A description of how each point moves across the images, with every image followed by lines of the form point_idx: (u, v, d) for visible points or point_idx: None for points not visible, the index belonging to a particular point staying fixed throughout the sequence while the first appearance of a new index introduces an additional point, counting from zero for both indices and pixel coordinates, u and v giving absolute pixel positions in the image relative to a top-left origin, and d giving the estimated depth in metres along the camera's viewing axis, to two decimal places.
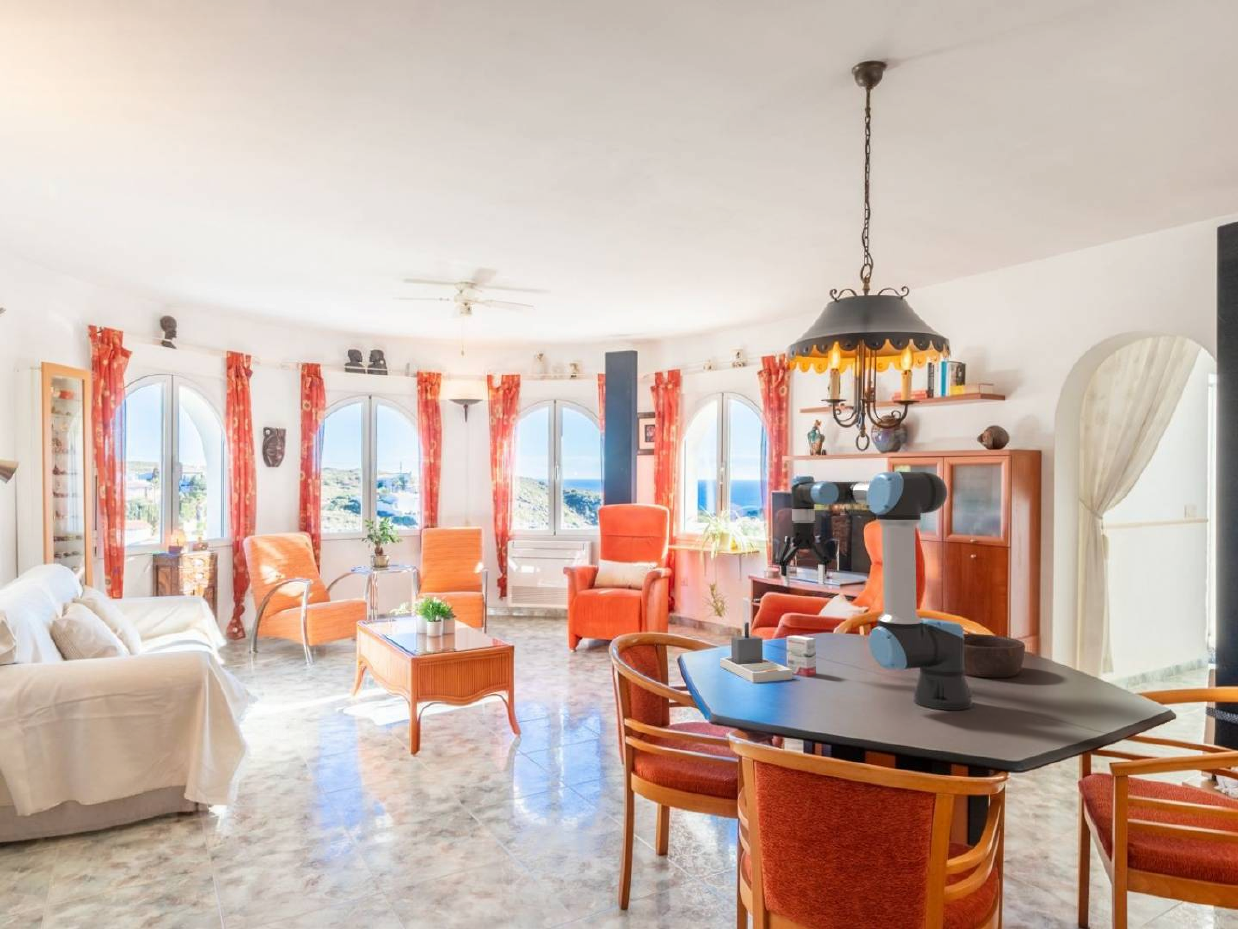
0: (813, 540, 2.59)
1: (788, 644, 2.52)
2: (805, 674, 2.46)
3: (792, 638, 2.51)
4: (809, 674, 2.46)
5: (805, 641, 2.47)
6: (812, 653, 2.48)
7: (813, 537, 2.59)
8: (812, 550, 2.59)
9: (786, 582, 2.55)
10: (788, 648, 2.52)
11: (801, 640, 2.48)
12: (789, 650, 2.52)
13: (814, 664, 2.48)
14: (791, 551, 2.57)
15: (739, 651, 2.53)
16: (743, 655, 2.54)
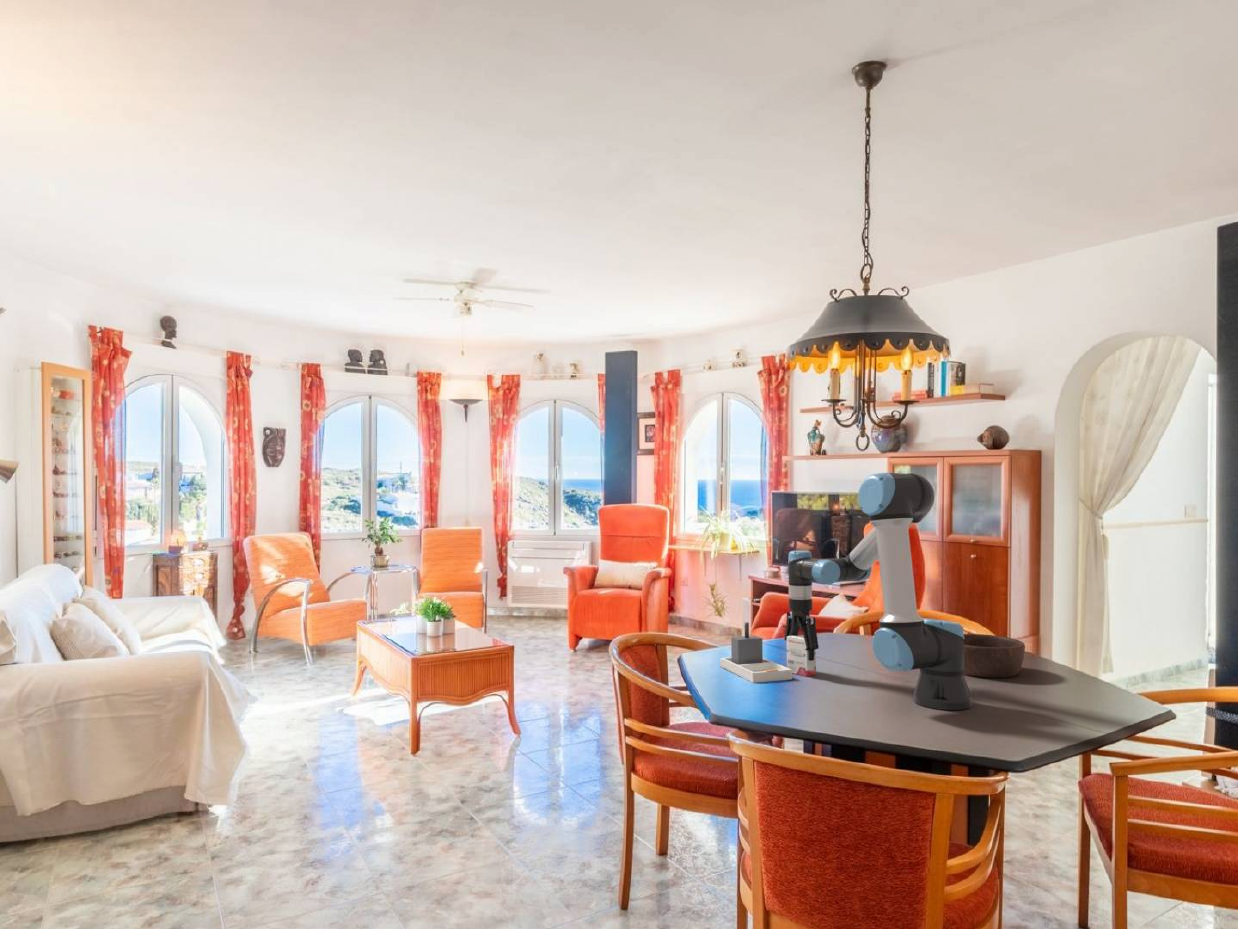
0: (802, 618, 2.48)
1: (788, 644, 2.52)
2: (805, 674, 2.46)
3: (792, 638, 2.51)
4: (809, 674, 2.46)
5: None
6: None
7: (803, 615, 2.48)
8: None
9: None
10: (788, 648, 2.52)
11: (801, 640, 2.48)
12: (789, 650, 2.52)
13: (814, 664, 2.48)
14: None
15: (739, 651, 2.53)
16: (743, 655, 2.54)
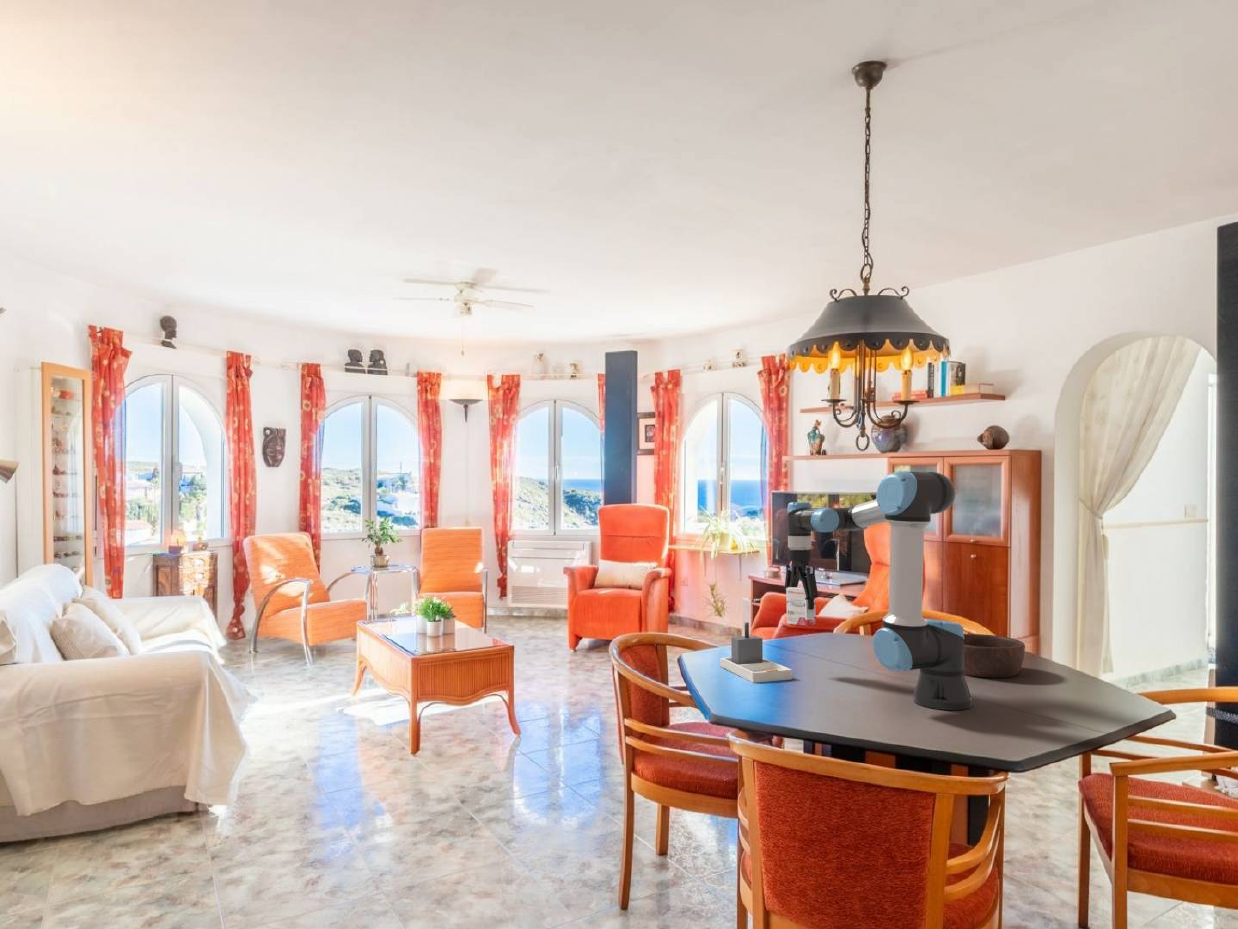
0: (802, 568, 2.49)
1: (788, 595, 2.52)
2: (805, 624, 2.47)
3: (792, 589, 2.51)
4: (809, 624, 2.47)
5: None
6: None
7: (802, 565, 2.48)
8: None
9: None
10: (788, 599, 2.52)
11: (801, 590, 2.48)
12: (788, 601, 2.52)
13: (814, 614, 2.49)
14: None
15: (739, 651, 2.53)
16: (743, 655, 2.54)
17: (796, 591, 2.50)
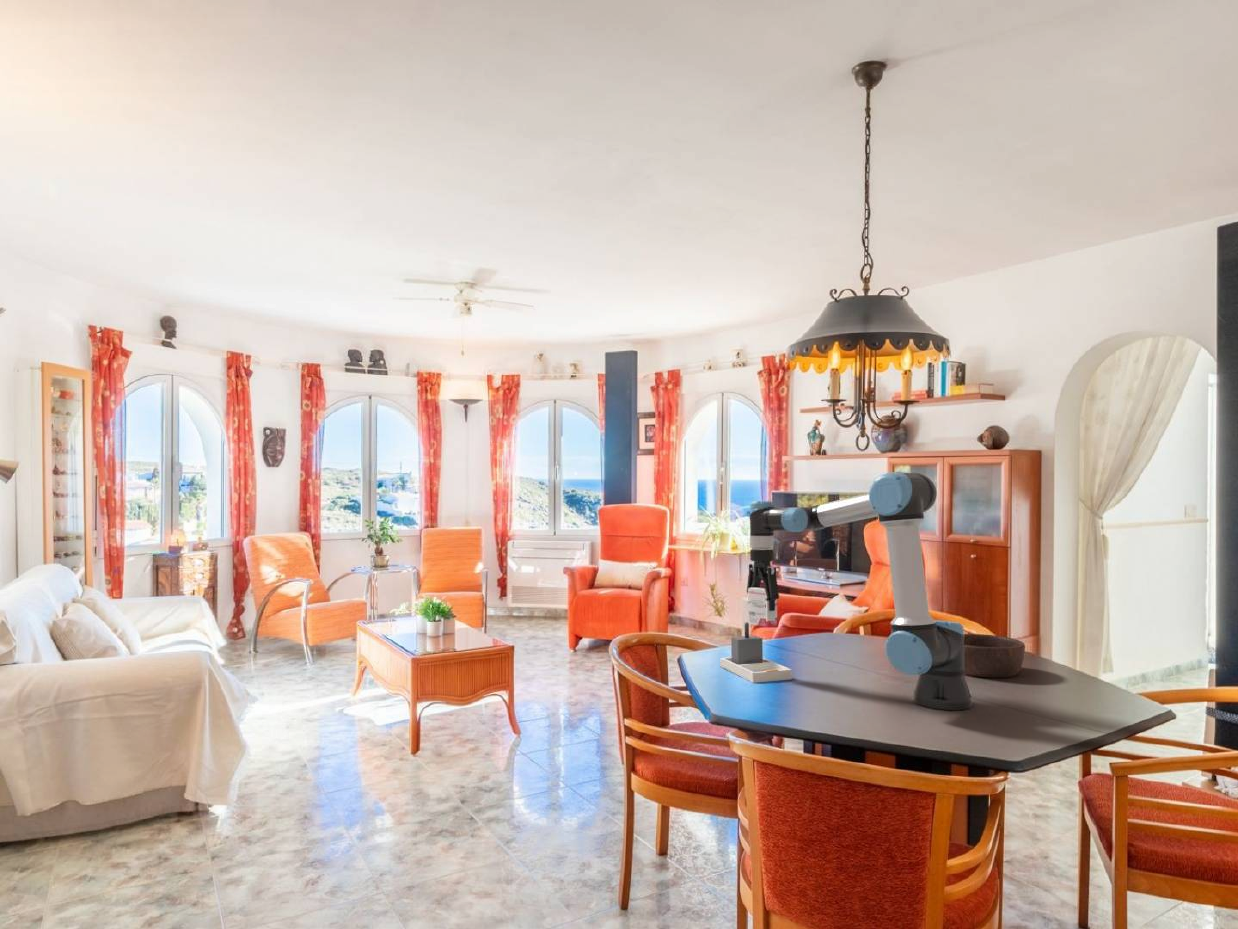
0: (763, 569, 2.44)
1: (749, 595, 2.48)
2: (766, 625, 2.43)
3: (753, 589, 2.47)
4: (770, 625, 2.43)
5: None
6: None
7: (764, 566, 2.44)
8: None
9: None
10: (749, 599, 2.48)
11: (762, 591, 2.44)
12: (750, 601, 2.48)
13: (775, 615, 2.45)
14: None
15: (739, 651, 2.53)
16: (743, 655, 2.54)
17: (757, 591, 2.46)
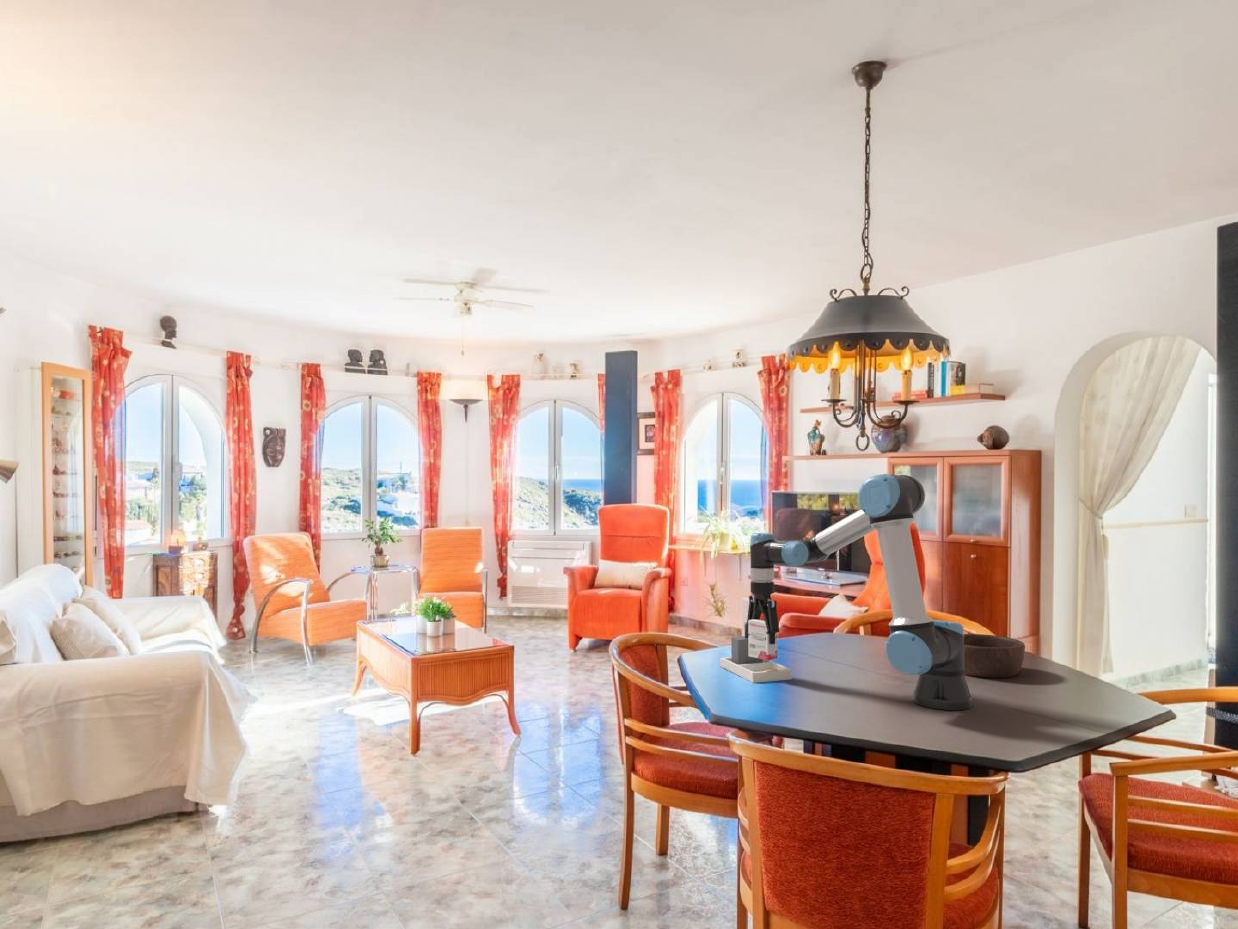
0: (764, 602, 2.44)
1: (750, 628, 2.48)
2: (766, 658, 2.42)
3: (753, 621, 2.47)
4: (770, 658, 2.42)
5: None
6: None
7: (764, 599, 2.44)
8: None
9: None
10: (750, 632, 2.48)
11: (762, 623, 2.44)
12: (750, 634, 2.48)
13: (775, 648, 2.44)
14: None
15: (739, 651, 2.53)
16: (743, 655, 2.54)
17: (758, 624, 2.45)
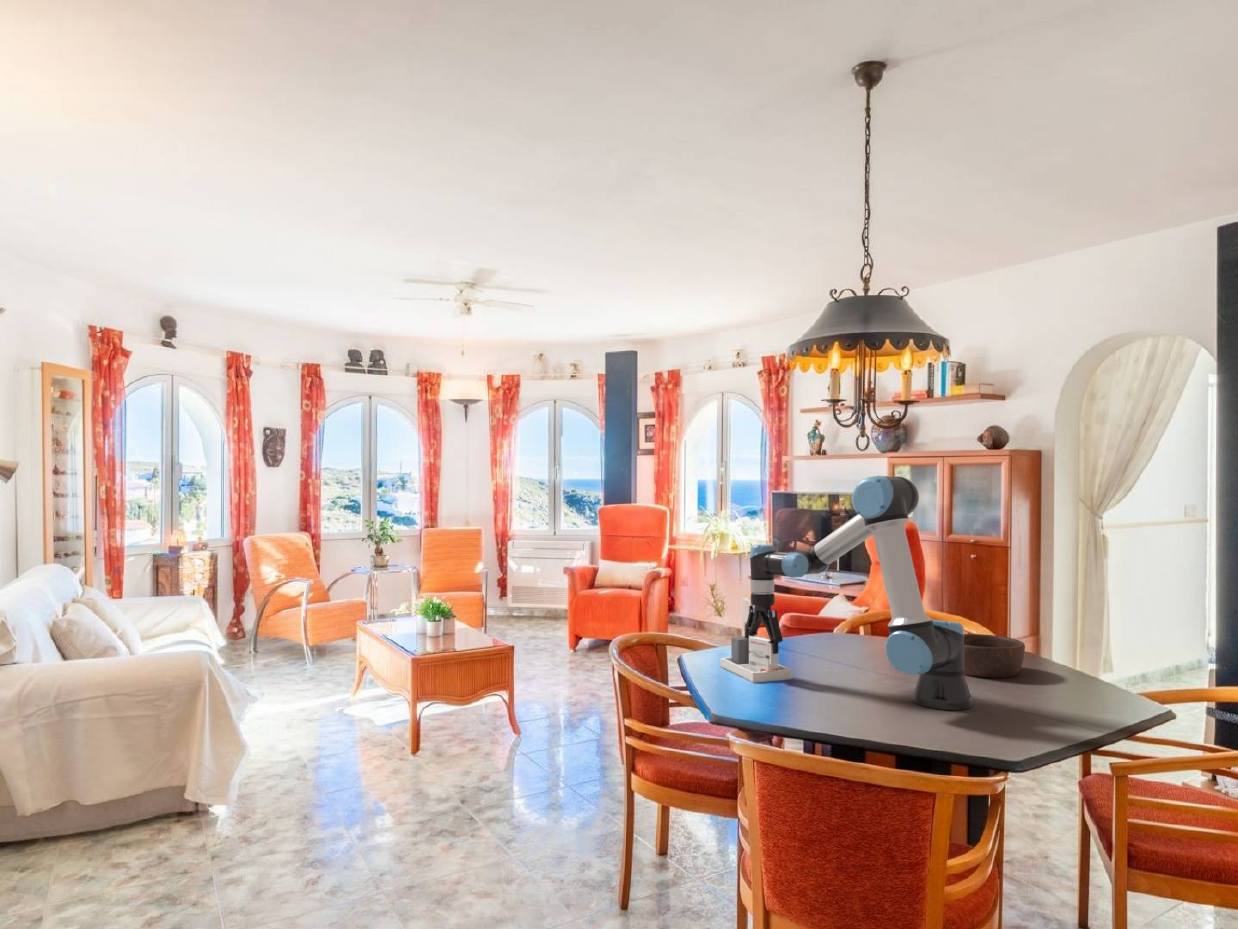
0: (764, 613, 2.43)
1: (750, 645, 2.48)
2: None
3: (754, 639, 2.46)
4: None
5: (766, 642, 2.42)
6: None
7: (764, 610, 2.43)
8: None
9: None
10: (750, 649, 2.48)
11: (763, 641, 2.44)
12: (751, 651, 2.47)
13: (776, 665, 2.44)
14: None
15: (739, 651, 2.53)
16: (743, 655, 2.54)
17: (758, 642, 2.45)
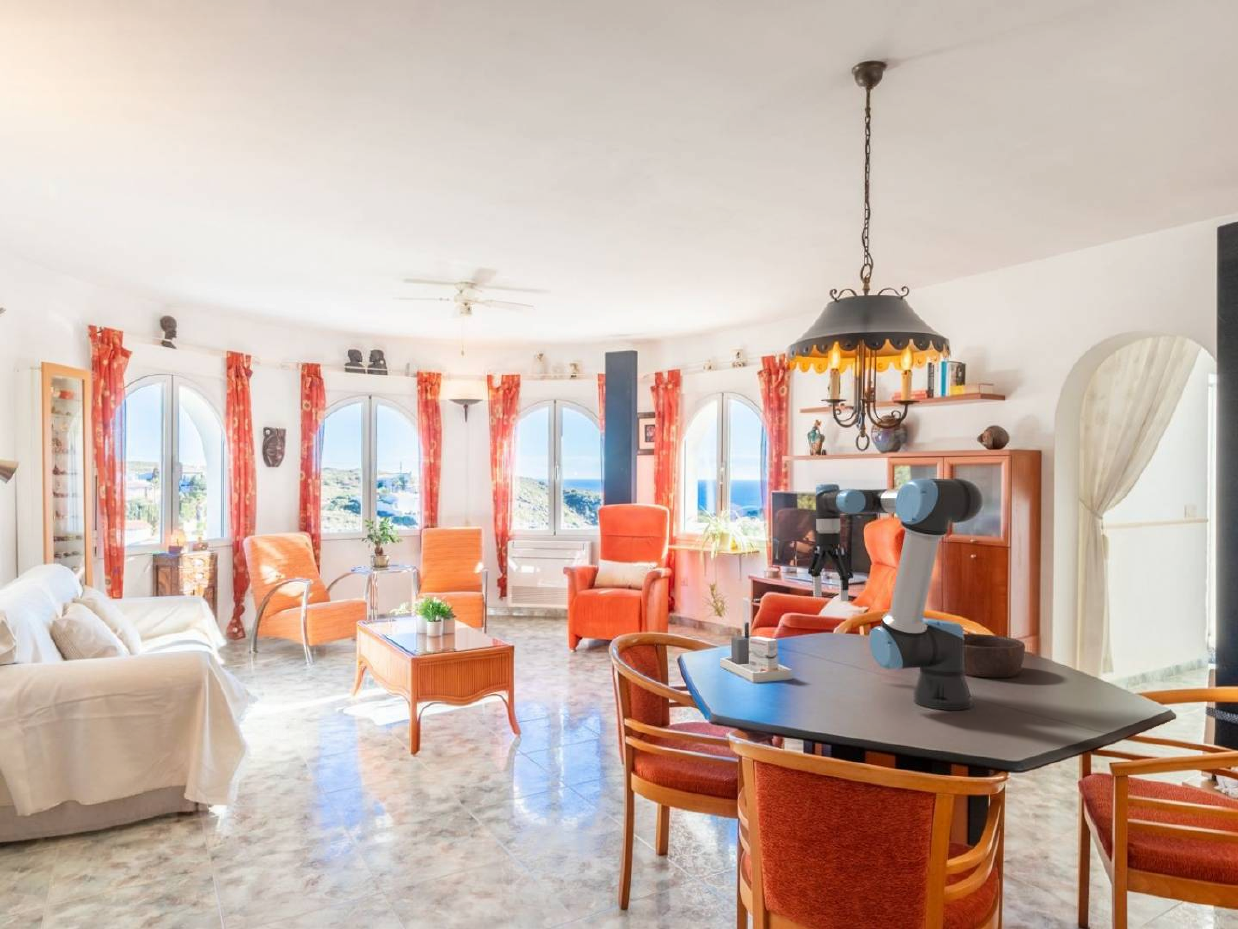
0: (832, 552, 2.43)
1: (750, 645, 2.48)
2: None
3: (754, 639, 2.46)
4: None
5: (766, 642, 2.42)
6: (774, 654, 2.43)
7: (832, 549, 2.43)
8: None
9: None
10: (750, 649, 2.48)
11: (763, 641, 2.44)
12: (751, 651, 2.47)
13: (776, 665, 2.44)
14: None
15: (739, 651, 2.53)
16: (743, 655, 2.54)
17: (758, 642, 2.45)
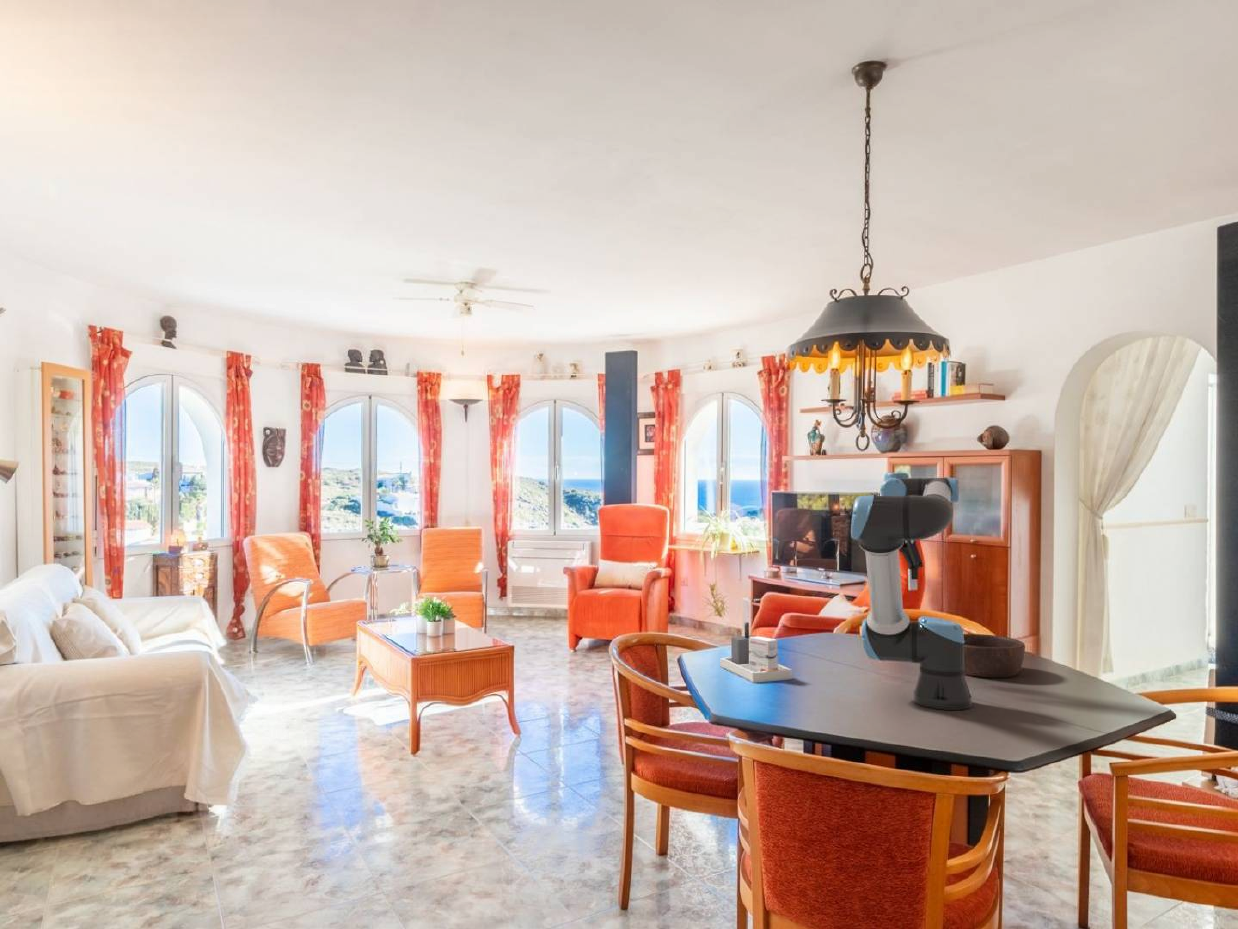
0: None
1: (750, 645, 2.48)
2: None
3: (754, 639, 2.46)
4: None
5: (766, 642, 2.42)
6: (774, 654, 2.43)
7: None
8: None
9: None
10: (750, 649, 2.48)
11: (763, 641, 2.44)
12: (751, 651, 2.47)
13: (776, 665, 2.44)
14: None
15: (739, 651, 2.53)
16: (743, 655, 2.54)
17: (758, 642, 2.45)
